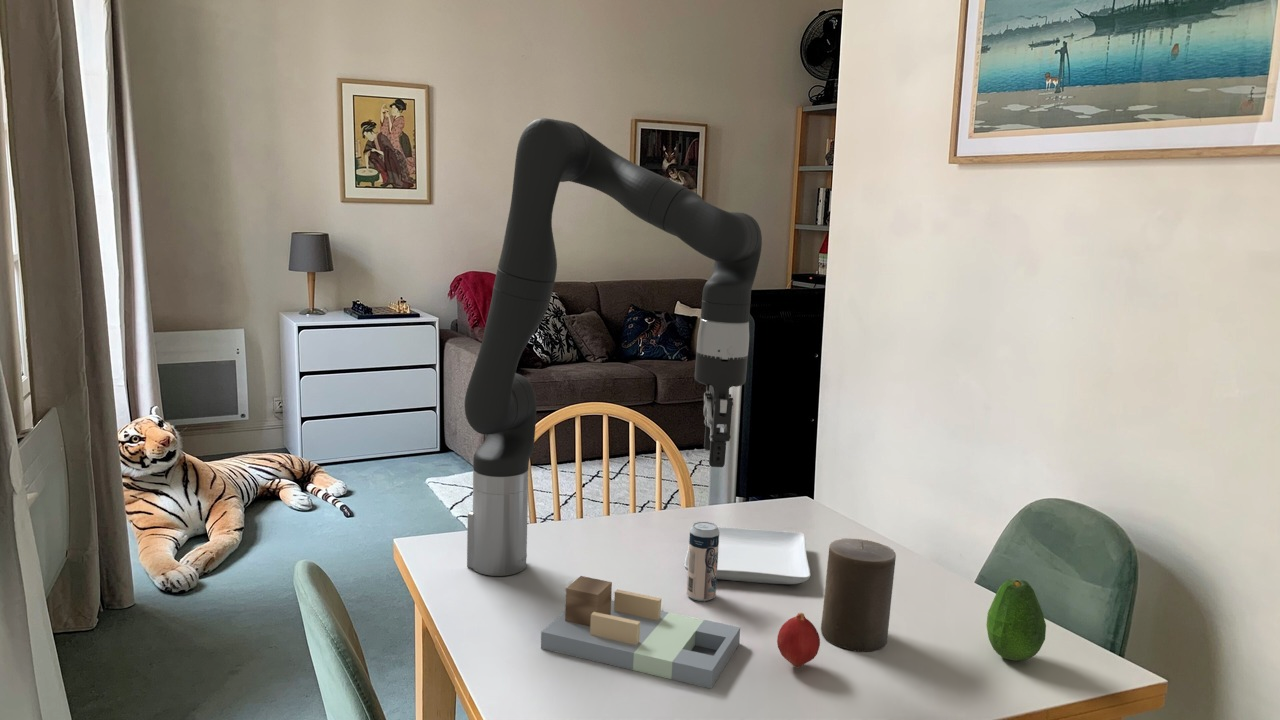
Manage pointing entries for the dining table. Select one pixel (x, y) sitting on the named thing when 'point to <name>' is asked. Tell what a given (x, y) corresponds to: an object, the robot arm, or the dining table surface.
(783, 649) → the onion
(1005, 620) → the avocado
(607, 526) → the dining table surface
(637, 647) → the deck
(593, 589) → the block
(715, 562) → the beer can
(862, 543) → the pillar candle
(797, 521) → the dining table surface
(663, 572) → the dining table surface
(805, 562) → the salad plate
